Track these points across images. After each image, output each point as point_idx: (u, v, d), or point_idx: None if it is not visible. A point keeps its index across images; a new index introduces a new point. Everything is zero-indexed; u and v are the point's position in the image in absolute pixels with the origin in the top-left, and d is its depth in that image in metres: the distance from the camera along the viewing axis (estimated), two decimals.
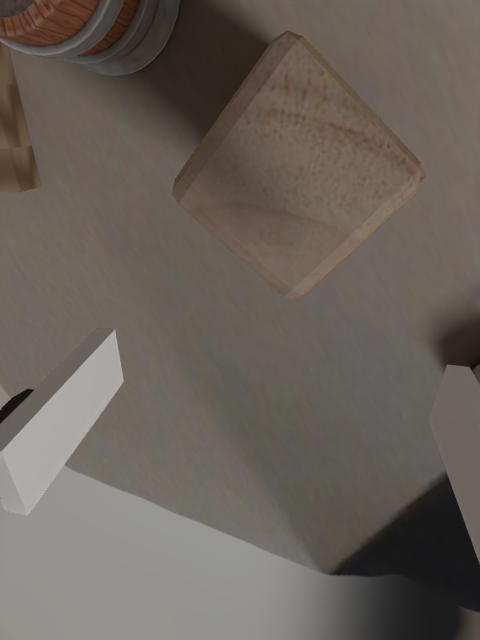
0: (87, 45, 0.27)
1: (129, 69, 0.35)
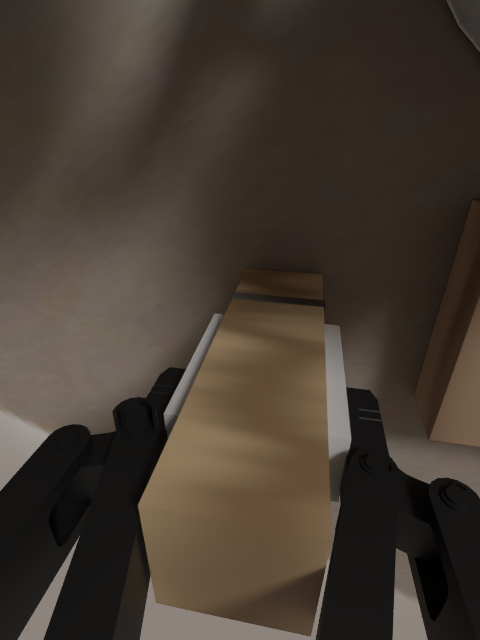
0: None
1: None
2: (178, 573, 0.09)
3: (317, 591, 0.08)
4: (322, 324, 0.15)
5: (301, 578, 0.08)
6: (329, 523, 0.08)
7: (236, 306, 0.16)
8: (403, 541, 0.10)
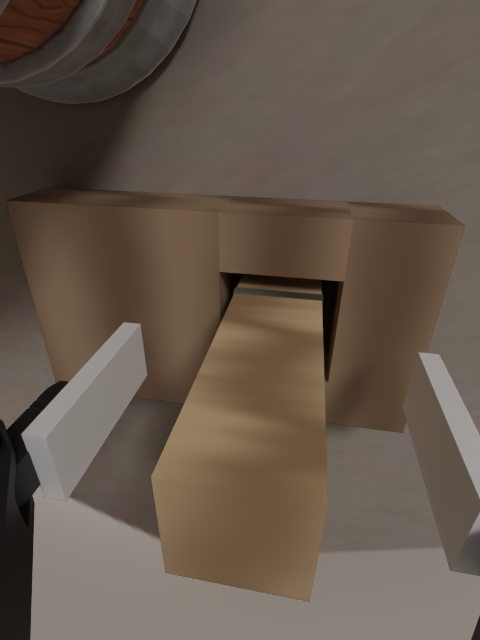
0: None
1: None
2: (187, 542, 0.10)
3: (315, 556, 0.09)
4: (320, 317, 0.16)
5: (300, 544, 0.09)
6: (326, 492, 0.08)
7: (238, 300, 0.17)
8: None
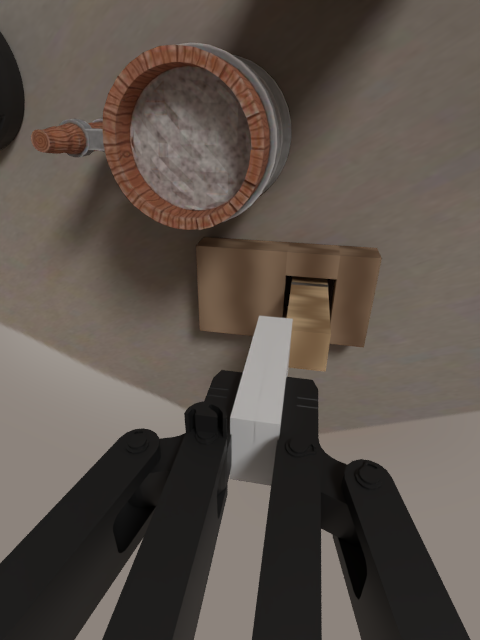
0: (271, 104, 0.29)
1: (287, 118, 0.37)
2: (291, 352, 0.34)
3: (327, 352, 0.34)
4: (327, 293, 0.40)
5: (323, 348, 0.34)
6: (330, 332, 0.33)
7: (294, 287, 0.42)
8: (325, 520, 0.10)
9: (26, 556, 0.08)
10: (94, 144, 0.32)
